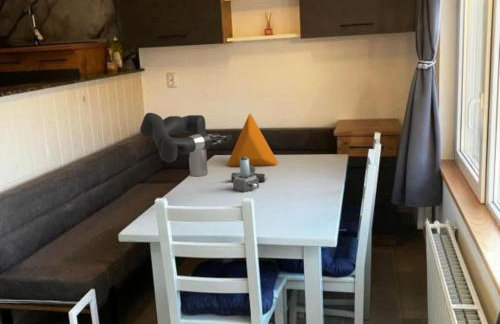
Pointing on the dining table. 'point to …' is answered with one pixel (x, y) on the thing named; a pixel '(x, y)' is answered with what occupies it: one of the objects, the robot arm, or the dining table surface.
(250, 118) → the decorative object
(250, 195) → the dining table surface
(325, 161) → the dining table surface
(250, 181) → the grey metal open box
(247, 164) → the capped canister
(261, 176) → the power drill
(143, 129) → the robot arm
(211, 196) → the dining table surface
